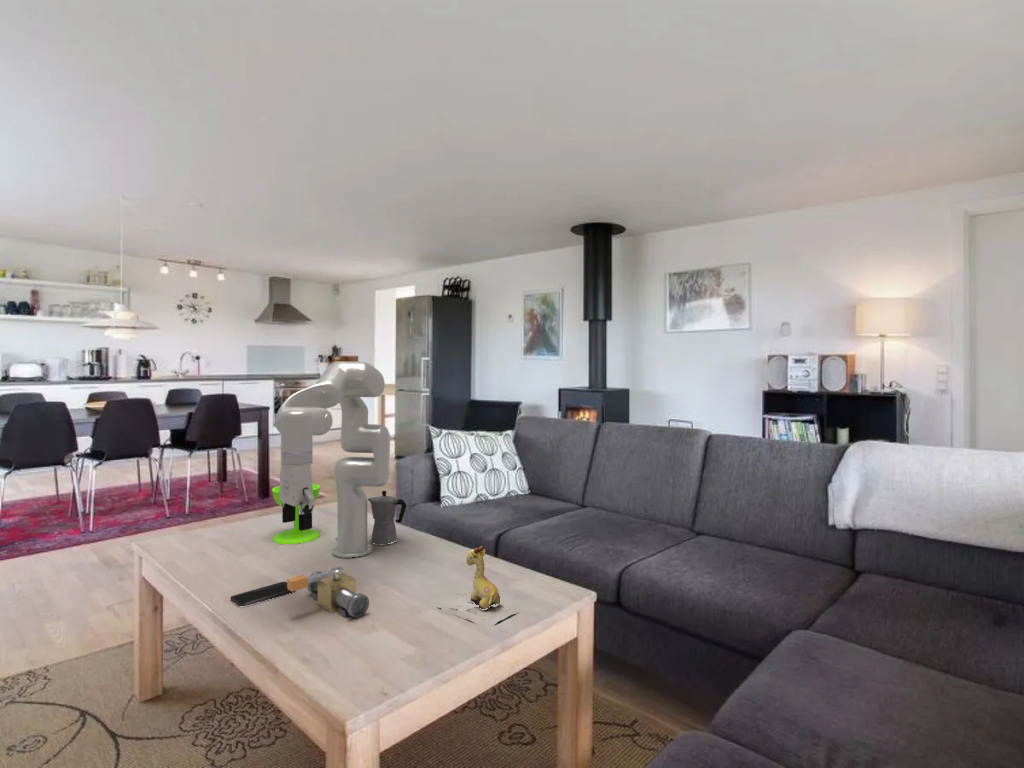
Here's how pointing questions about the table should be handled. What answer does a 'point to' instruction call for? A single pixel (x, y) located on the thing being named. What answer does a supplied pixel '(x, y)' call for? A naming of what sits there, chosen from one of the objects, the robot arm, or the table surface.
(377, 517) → the coffeepot
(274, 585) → the phone
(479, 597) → the stuffed giraffe
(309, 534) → the wineglass
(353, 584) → the valve pipe
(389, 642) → the table surface
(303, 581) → the valve lever
